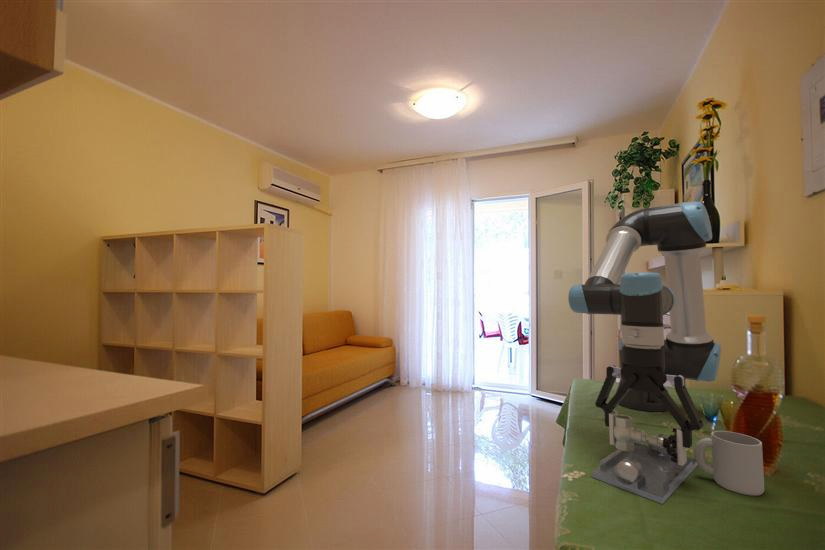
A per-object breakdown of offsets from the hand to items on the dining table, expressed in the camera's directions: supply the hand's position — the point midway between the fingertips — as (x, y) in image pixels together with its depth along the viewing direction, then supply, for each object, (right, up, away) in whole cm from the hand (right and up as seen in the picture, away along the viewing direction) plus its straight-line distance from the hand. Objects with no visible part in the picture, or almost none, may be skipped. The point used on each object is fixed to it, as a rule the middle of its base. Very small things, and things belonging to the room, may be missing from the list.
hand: (646, 452), depth 74 cm
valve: (0, -1, 0) cm, 1 cm away
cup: (+12, -4, -5) cm, 14 cm away
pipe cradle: (0, -4, 0) cm, 4 cm away
